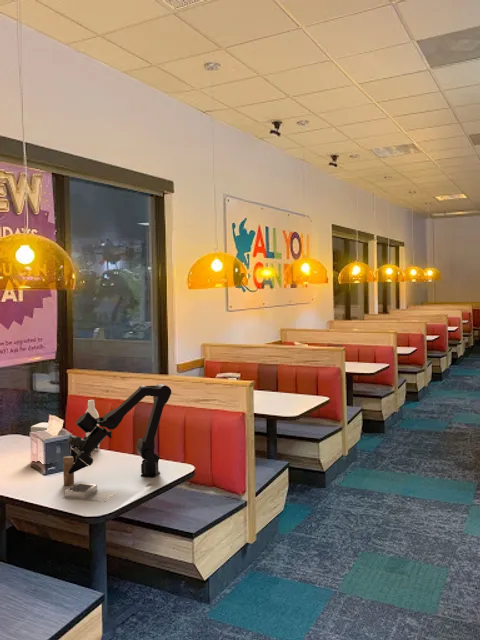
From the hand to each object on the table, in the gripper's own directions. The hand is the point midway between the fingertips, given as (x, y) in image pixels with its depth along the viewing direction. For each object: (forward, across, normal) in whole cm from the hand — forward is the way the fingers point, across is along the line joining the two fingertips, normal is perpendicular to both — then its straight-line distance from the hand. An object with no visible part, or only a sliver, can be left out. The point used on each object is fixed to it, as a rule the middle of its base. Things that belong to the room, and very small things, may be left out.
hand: (66, 470), depth 227 cm
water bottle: (-10, -51, +20) cm, 56 cm away
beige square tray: (+2, +14, +6) cm, 15 cm away
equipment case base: (+1, +17, +9) cm, 19 cm away
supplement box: (+7, -45, +4) cm, 46 cm away
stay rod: (+5, 0, +6) cm, 7 cm away
